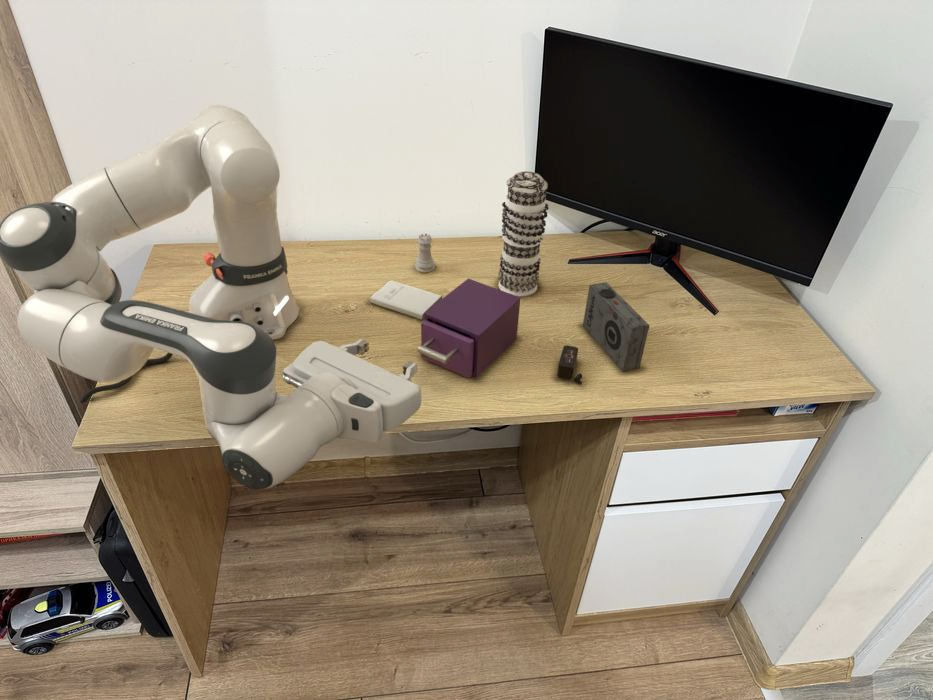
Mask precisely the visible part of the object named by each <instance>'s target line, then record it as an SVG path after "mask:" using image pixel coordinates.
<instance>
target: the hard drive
mask: <svg viewBox="0 0 933 700" xmlns="http://www.w3.org/2000/svg"><path fill="white" fill-rule="evenodd" d="M441 299H443V295H441V294H437V293H434V292H431V291H428V290H425V289H421V288H418V287H415V286H412V285H408V284H405V283H402V282H399V281H395V280H393V279H390V280H389V281H387V282H386V283H385V284H384V285H383V286H382V287H380V288H379V289H378V290H377V291H376V292H374V293H373V294H372V295H371V296H370V297H369V302H370V303H371V304H374V305H377V306H380V307H382V308H386V309H389V310H392V311H395V312H398V313H401V314H403V315H407V316H410V317H412V318H415V319H419V320H421V321H424V313H425V312H426V311H427V310H429V309H430V308H431V307H432V306H434V305H435V304H436V303H438V302H439V301H440V300H441Z"/></svg>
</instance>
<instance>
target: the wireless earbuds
mask: <svg viewBox="0 0 933 700" xmlns="http://www.w3.org/2000/svg"><path fill="white" fill-rule="evenodd" d="M578 354H579V348H578V347H577V346H573V345H567V344H565V345H563V347H562V351H561V353H560V357H559V361H558V366H557V373H556V376H557V378H558V379H561V380H566V381H571V380H572V379H573V382H574V383H575V384H578V385H582V383H583V381H582V380H583V374H582V373H577V374H576V375H575V377H573V376H574V373H575V369H576V365H577V362H578V361H577V360H578Z"/></svg>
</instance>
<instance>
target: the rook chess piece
mask: <svg viewBox="0 0 933 700" xmlns="http://www.w3.org/2000/svg"><path fill="white" fill-rule="evenodd" d="M432 242H433V239H432V236H431V234H428V233H424V234H423V233H421V234H419V235H418V238H417V243H418V246H417V247H418V256H417V258H416V260H415V262H414V268H415V270H416V271H417V272H418V273H421V274H422V273H423V274H429V273H431V272H433V271H434V270H435V268H436V265H435V264H436V263H435V260H434V259H433V257H432V251H431V249H432V245H431V244H432Z"/></svg>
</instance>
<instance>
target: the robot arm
mask: <svg viewBox="0 0 933 700" xmlns="http://www.w3.org/2000/svg"><path fill="white" fill-rule="evenodd" d="M277 158H278V157H277V155H276V152H275V150H274V148H273V147H272V145H271V144H270V143H269V142H268V140H267V139H266V138H265V136H264V135H263V134H262V133H261V132H260V131H259V129H258V128H257V127H256V126H255V125H254V123H253V122H252V121H251V120H250V119H249V117H248V116H246V115H245V114H244V113H243V112H241V111H239V110H236V109H234V108H232V107H229V106H226V105H221V104H216V105H211V106H207V107H205V108H203V109H202V110H201V111H199V112H198V114H196V116H195V118H194V119H193V120H192V121H190V122H189V123H188V124H186V125H184V126H182V127H181V128H180V129H178V130H176V131H175V132H174V133H172V134H171V135H169V136H168V137H166V138H164V139H162V141H160V142H158V143H157V144H155V145H153V146H151V147H149V148H147V149H145V150H143V151H140V152H138V153H135V154H133V155H131V156H129V157H126V158H124V159H121V160H119V161H116V162H114V163H111V164H110V165H106V166H105V167H102V168H100V169H97V170H96V171H93V172H91V173H89V174H87V175H85V176H83V177H82V178H79V179H78V180H75V182H73V183H71V184H69V185H68V186H67V187H65V188H64V189H62V190H60V191H59V192H58V193H56V194H55V195H54V196H53V198H52V200H51V201H44V202H36V203H31V204H27V205H24V206H21V207H19V208H15V209H14V210H12V211H11V212H9V213H8V214H7V215H5V217H3V219H2V220H1V221H0V257H1V259H2V260H3V262H4V263H5V264H6V265H7V266H8V267H9V268H11V269H12V270H13V271H14V272H15V274H16V275H17V276H18V277H19V278H20V280H21V281H22V282H23V283H24V284H25V286H27V287H28V288H29V289H30V290H31V291H32V292H33V294H32V295H30V296H29V297H28V298H26V299H25V301H24V302H23V304H22V305H21V306H20V308H19V311H18V314H17V319H16V320H17V321H16V322H17V323H16V324H17V325H16V326H17V329H18V332H19V334H20V336H21V338H22V339H23V341H25V342H26V343H27V344H28V345H29V346H30V347H32V348H33V349H34V350H35V351H37V352H38V353H40V354H41V355H42V356H44V357H45V358H47V359H48V360H50V361H52V362H53V363H55V364H56V365H58V366H60V367H62V368H64V369H66V370H68V371H70V372H72V373H74V374H76V375H78V376H80V377H82V378H85V379H88V380H90V381H93V382H97V383H102V384H105V385H100V386H96V387H93V388H91V389H89V390H88V391H86V392H84V394H83V396H82V397H81V398H80V400H79V403H80V404H83V403H86V402H87V401H88V400H89V398H90V397H92V396H93V395H95V394H97V393H101V392H107V391H113V390H117V389H120V388H123V387H124V386H126V385H127V384H128V383H130V381H131V380H132V378H133V376H134V375H135V374H136V373H138V372H139V371H140V370H141V369H142V368H143V367H144V366H147V365H157V364H158V365H159V364H161V363H165V362H167V361H168V360H170V359H171V358H172V357H173V355H176V356H178V357H182V358H184V359H186V361H188V362H189V364H190V366H191V367H192V368H193V370H194V372H195V375H196V377H197V380H198V386H199V391H200V398H201V407H202V413H203V420H204V424H205V427H206V429H207V432H208V434H209V435H210V436H211V437H212V438H213V440H215V441H216V442H217V444H218V446H219V449H220V452H221V462H222V465H223V468H224V469H225V471H226V472H227V473H228V474H229V475H230V476H231V478H232V479H234V480H235V481H236V482H237V483H238V484H240V485H241V486H244V487H245V488H248V489H250V490H251V489H252V490H256V491H264V490H267V489H270V488H273V487H276V486H277V485H279V484H281V483H283V482H284V481H286V480H287V479H288V478H290V477H291V476H293V475H294V474H296V473H297V472H298V471H299V470H300V469H302V468H303V467H304V466H306V465H307V464H309V462H310V461H311V460H313V459H314V457H316V455H317V453H318V452H319V450H320V449H321V448H322V447H323V446H325V445H327V444H330V443H332V442H333V441H335V440H336V439H343V440H352V441H358V442H363V443H366V444H367V443H368V444H377V443H379V442H380V441H381V440H382V439H383V436H384V435H383V434H384V432H388V431H393V430H395V429H396V428H399V427H400V426H401V425H403V424H404V423H405V422H407V421H408V420H409V419H410V418H411V417H412V416H413V415H414V414H416V413H417V412H418V411H419V410H420V408H421V406H422V390H421V389H422V388H421V387H420V385H419V384H418V383H415V382H413V381H412V378H413V377H414V376H415V375H416V374H417V373H418V369H419V365H418V363H415V362H413V361H410V360H408V361H407V362H406V363H404V364H402V373H401V374H400V375H398V374H396V373H393V372H391V371H389V370H387V369H385V368H383V367H381V366H379V365H376V364H374V363H372V362H370V361H367V360H366V359H363V358H361V357H359V356H364V355H365V353H368V352H369V350H370V346H369V345H370V343H369V342H368V341H366V340H364V339H362V338H360V339H358V340H357V341H356V342H353V343H348V344H347V343H346V344H343V345H340V346H339V347H337V346H336V345H333V344H331V343H329V342H327V341H324V340H318V341H313V342H312V343H310V344H309V345H308V346H307V347H306V348H305V349H303V350H302V351H301V352H300V353H299V354H298V356H297V357H296V358H295V359H294V360H293V361H292V362H291V363H290V364H288V365H287V366H286V367H284V368H283V369H282V371H281V376H282V378H283V381H284V382H285V384H288V385H290V386H293V387H294V388H295V389H294V390H292V391H291V392H290V393H288V394H286V395H283V394H281V393H279V392H277V390H276V388H277V387H276V365H277V364H276V362H277V345H276V344H275V341H274V340H279V339H282V338H283V337H284V336H285V334H286V331H287V329H288V328H289V327H290V326H291V325H292V324H293V323H294V322H295V321H296V320H297V318H298V316H299V314H300V307H299V304H298V303H297V301H296V299H295V297H294V294H293V291H292V289H291V286H290V283H289V278H288V261H287V254H286V251H285V247H284V246H282V240H281V233H280V226H279V220H278V219H279V218H278V185H279V182H280V175H281V174H280V166H279V162H278V159H277ZM209 188H210V189H211V195H212V207H213V214H212V217H213V218H212V219H213V224H214V228H215V229H214V230H215V233H216V234H215V235H216V237H217V244H218V249H219V253H218V255H217V256H216V257H215V254H214V253H212V252H207V253H205V254H204V256H203V257H202V259H203V261H204V262H205V264H206V266H208V267H211V272H212V274H210V275H209V276H208V277H207V278H206V279H205V280H204V281H203V282H202V283H201V284H199V286H197V287H196V288H195V289H194V290H193V291H192V292H191V293H190V296H189V301H188V310H186V311H185V310H181V309H177V308H174V307H170V306H166V305H162V304H159V303H154V302H150V301H144V300H136V299H127V300H121V298H122V295H123V294H122V293H123V292H122V291H123V289H122V285H121V282H120V280H119V278H118V275H117V274H116V272H115V270H114V269H112V268H111V267H110V266H109V264H108V262H107V260H106V258H105V257H104V256H103V255H102V253H101V251H102V250H103V249H104V248H105V247H106V246H107V245H108V244H109V243H111V242H113V241H116V240H119V239H122V238H125V237H129V236H131V235H133V234H136V233H138V232H141V231H143V230H145V229H147V228H150V227H152V226H154V225H156V224H159V223H161V222H164V221H165V220H168V219H170V218H172V217H175V216H177V215H180V214H181V213H183V212H184V213H185V212H186V210H188V209H189V208H190V206H191V205H192V203H193V202H194V201H195V200H196V199H197V198H198V197H199V196H200V195H201V194H203V193H204V192H206V191H207V190H208V189H209ZM154 350H159V351H161V352H165V353H166V354H165V355H164V356H162V357H157V358H150V357H151V355H152V353H153V351H154ZM357 355H359V356H357ZM106 384H107V385H106Z"/></svg>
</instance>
